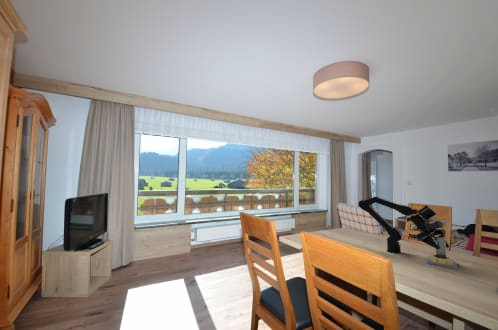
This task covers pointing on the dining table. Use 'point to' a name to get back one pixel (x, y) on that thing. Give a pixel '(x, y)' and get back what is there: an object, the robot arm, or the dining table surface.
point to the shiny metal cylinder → (441, 247)
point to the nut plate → (441, 261)
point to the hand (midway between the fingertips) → (443, 248)
